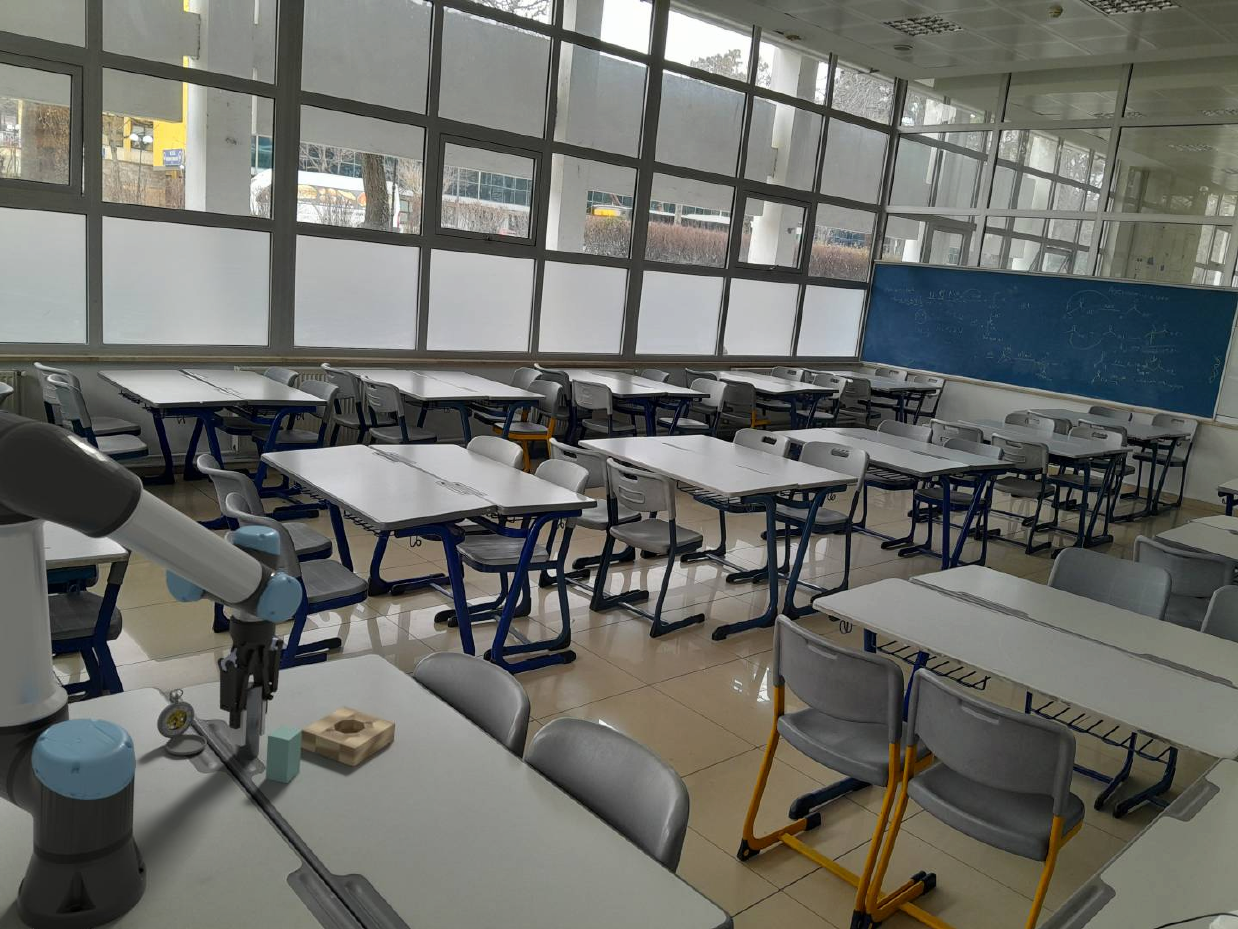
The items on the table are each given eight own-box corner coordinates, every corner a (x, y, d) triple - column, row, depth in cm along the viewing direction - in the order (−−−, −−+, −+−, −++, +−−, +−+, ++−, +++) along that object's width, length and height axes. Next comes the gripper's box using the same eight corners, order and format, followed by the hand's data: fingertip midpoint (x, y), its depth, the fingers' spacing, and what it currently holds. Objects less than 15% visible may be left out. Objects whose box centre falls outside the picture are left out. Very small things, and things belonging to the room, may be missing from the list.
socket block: (353, 766, 166) (354, 748, 165) (300, 747, 170) (301, 730, 170) (393, 740, 177) (395, 723, 176) (343, 722, 181) (344, 706, 181)
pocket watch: (195, 759, 162) (197, 706, 160) (148, 754, 162) (149, 701, 160) (216, 737, 170) (218, 687, 169) (171, 732, 170) (172, 681, 169)
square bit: (286, 783, 158) (289, 740, 157) (265, 778, 159) (267, 735, 158) (299, 772, 162) (301, 730, 161) (279, 767, 163) (281, 725, 161)
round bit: (247, 761, 163) (250, 693, 161) (229, 755, 165) (232, 687, 163) (263, 752, 167) (267, 685, 165) (246, 746, 169) (249, 679, 166)
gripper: (232, 633, 152) (227, 764, 156) (304, 606, 168) (297, 725, 172) (198, 623, 155) (193, 751, 159) (272, 597, 170) (265, 714, 175)
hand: (247, 737), depth 165 cm, fingers closed on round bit, 4 cm apart
